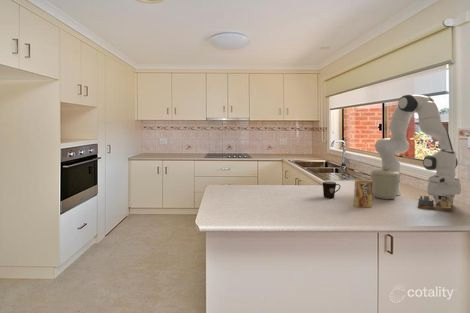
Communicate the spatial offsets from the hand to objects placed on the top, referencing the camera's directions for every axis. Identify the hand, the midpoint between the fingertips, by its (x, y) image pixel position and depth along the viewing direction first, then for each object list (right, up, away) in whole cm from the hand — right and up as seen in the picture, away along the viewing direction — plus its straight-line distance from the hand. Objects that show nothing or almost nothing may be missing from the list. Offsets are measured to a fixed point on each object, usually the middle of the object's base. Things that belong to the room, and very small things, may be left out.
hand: (443, 202), depth 172 cm
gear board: (-4, -4, +2) cm, 6 cm away
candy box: (-44, -3, +4) cm, 45 cm away
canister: (-20, -1, +28) cm, 34 cm away
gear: (-7, -2, +4) cm, 9 cm away
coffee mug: (-55, -1, +27) cm, 62 cm away
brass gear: (0, -2, 0) cm, 2 cm away
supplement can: (+9, -3, +12) cm, 15 cm away
